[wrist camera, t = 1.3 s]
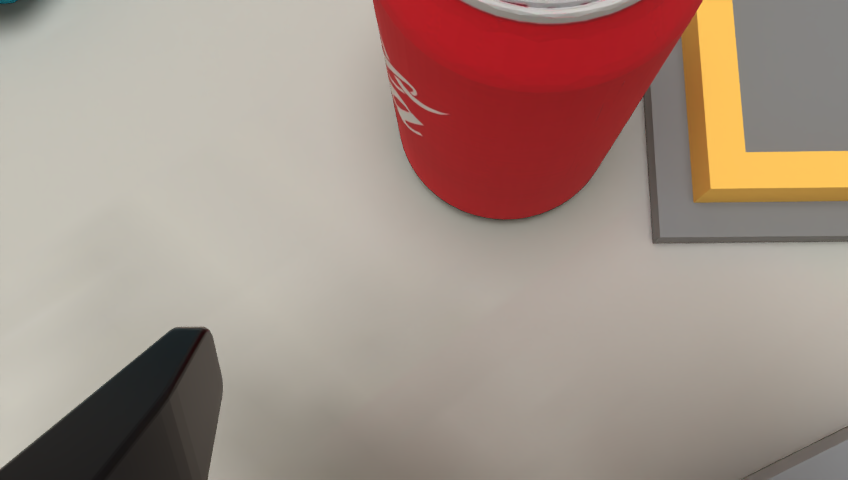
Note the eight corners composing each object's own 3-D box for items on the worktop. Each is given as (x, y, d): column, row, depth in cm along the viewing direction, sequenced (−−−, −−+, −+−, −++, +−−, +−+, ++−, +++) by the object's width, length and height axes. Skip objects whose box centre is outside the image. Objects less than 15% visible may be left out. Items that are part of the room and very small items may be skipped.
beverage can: (515, -7, 25) (574, -378, 13) (648, 139, 24) (847, -122, 12) (358, 113, 24) (269, -163, 12) (487, 268, 23) (527, 130, 11)
